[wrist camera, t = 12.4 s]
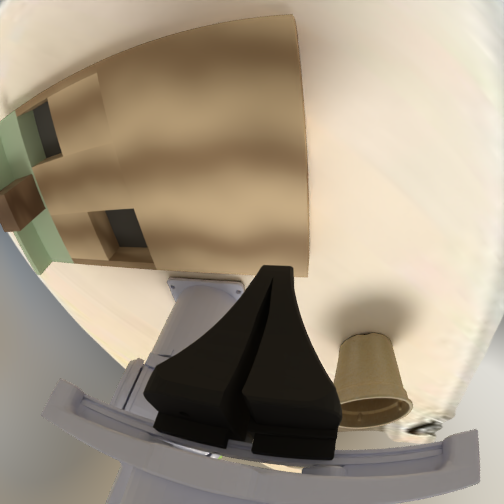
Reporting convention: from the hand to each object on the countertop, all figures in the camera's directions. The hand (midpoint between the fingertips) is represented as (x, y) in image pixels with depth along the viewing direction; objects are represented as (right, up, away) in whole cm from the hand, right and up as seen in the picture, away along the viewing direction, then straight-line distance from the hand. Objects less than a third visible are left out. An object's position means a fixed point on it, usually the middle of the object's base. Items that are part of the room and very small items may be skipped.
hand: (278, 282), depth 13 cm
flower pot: (+12, -9, +17) cm, 23 cm away
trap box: (-12, +9, +9) cm, 17 cm away
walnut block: (-24, +7, +9) cm, 27 cm away
